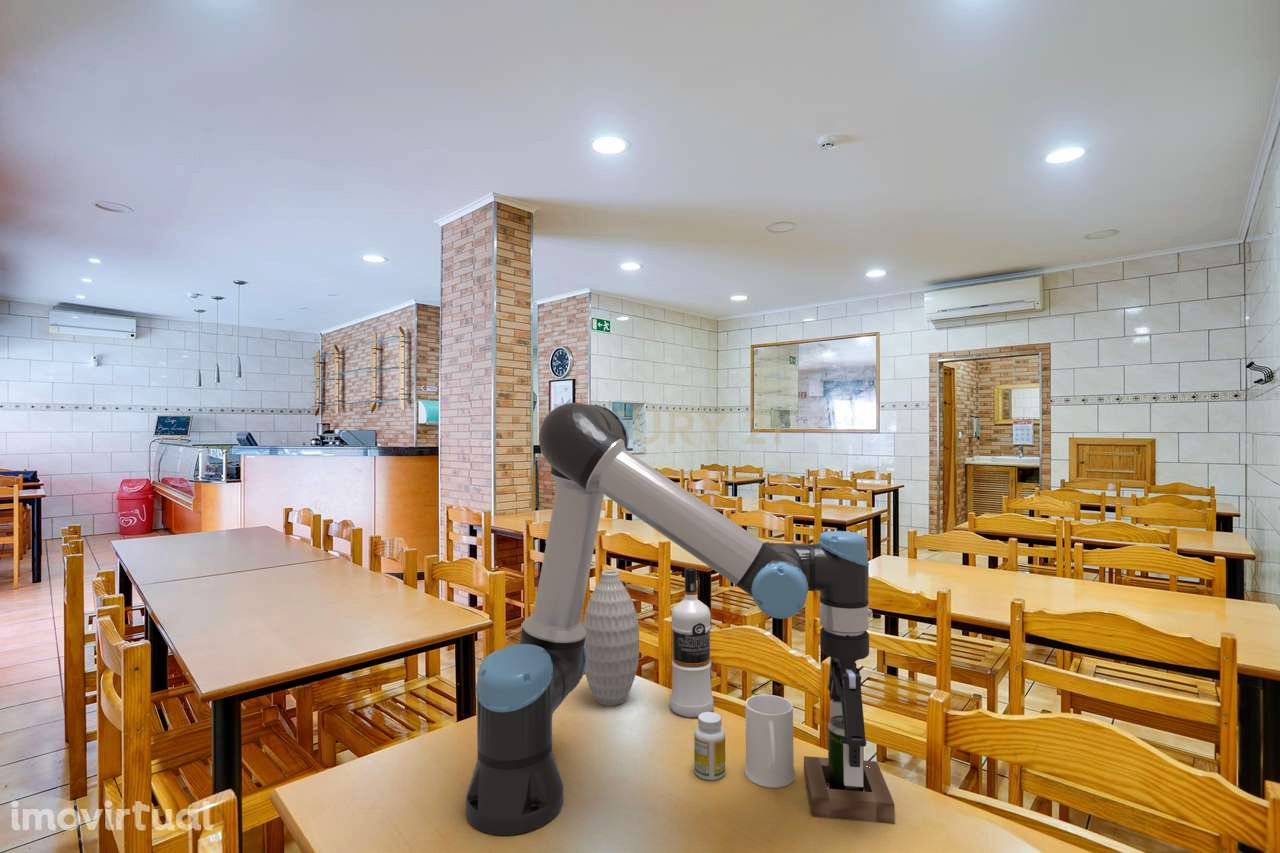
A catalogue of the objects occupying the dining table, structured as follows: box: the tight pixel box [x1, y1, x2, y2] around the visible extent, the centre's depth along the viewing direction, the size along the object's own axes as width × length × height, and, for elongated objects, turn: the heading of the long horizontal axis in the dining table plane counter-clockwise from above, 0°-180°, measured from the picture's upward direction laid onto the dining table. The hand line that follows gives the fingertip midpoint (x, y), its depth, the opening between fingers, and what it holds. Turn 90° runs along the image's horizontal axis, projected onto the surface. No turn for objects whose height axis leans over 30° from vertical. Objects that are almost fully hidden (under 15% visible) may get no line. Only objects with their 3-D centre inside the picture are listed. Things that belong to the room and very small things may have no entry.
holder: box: [803, 755, 896, 825], centre depth 99 cm, size 12×12×3 cm
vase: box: [582, 569, 640, 707], centre depth 136 cm, size 13×13×28 cm
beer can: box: [827, 715, 865, 792], centre depth 99 cm, size 5×5×12 cm
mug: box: [744, 694, 796, 789], centre depth 104 cm, size 12×8×12 cm
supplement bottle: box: [693, 711, 726, 781], centre depth 106 cm, size 5×5×10 cm
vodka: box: [669, 567, 715, 719], centre depth 131 cm, size 9×9×30 cm
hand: (845, 761), depth 99 cm, fingers open, 13 cm apart
